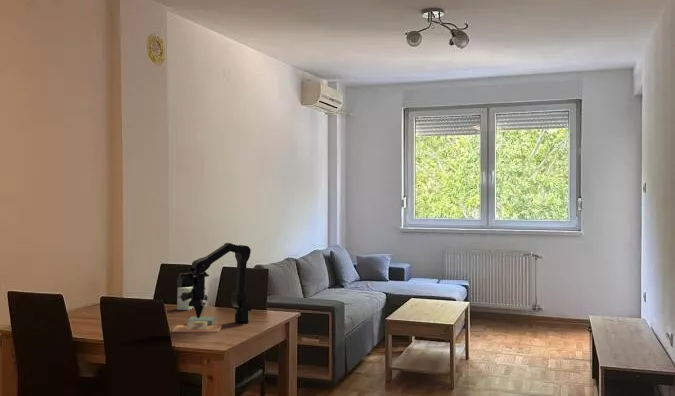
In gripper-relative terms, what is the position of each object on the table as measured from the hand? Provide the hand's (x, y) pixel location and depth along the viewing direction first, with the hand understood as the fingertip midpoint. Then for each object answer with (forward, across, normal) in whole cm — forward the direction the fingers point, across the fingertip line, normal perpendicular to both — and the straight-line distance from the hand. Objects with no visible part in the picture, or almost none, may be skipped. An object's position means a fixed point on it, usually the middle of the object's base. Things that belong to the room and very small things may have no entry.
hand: (198, 317), depth 300 cm
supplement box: (+5, -51, -16) cm, 53 cm away
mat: (+5, +2, 0) cm, 6 cm away
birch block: (+3, +3, 0) cm, 4 cm away
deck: (+5, -9, 0) cm, 10 cm away
